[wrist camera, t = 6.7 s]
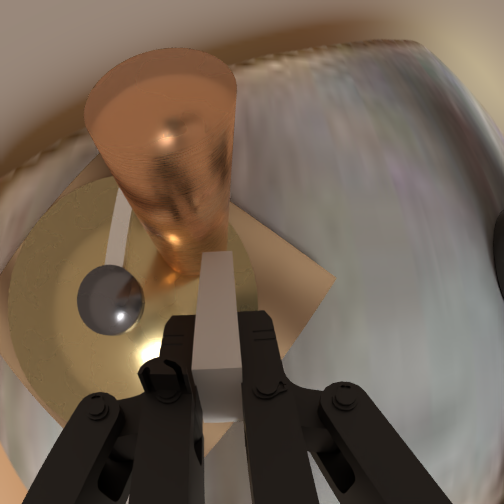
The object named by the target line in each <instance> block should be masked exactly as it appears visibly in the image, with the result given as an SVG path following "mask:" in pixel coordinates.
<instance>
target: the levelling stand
mask: <svg viewBox="0 0 504 504" xmlns="http://www.w3.org/2000/svg"><path fill="white" fill-rule="evenodd" d="M111 176H113V175H112V174H111V172H110V170H109V168H108V167H107V165H106V163H105V161H104V159H103V158H102V156H101V154H100V153H99V154H98V155H97V156H96V157H95V158H94V159H93V160H92V161H91V162H90V163H89V164H88V165H87V166H86V167H85V168H84V169H83V171H82V172H81V173H80V174H79V175H78V176H77V177H76V178H75V179H74V180H73V181H72V182H71V183H70V185H69V186H68V187H67V188H66V189H65V190H64V191H63V192H62V194H61V195H60V196H59V197H58V198H57V199H56V201H55V202H54V203H53V204H52V205H51V207H52V206H53V205H54V204H55V203H57V202H58V201H59V200H60V199H62V198H63V197H64V196H66V195H67V194H69V193H71V192H72V191H74V190H75V189H77V188H79V187H82V186H84V185H86V184H88V183H90V182H93V181H96V180H99V179H102V178H106V177H111ZM51 207H50V208H51ZM50 208H49V209H50ZM49 209H48V210H49ZM48 210H47V211H48ZM47 211H46V212H47ZM228 221H229V222H230V224H231V225H232V227H233V228H234V230H235V231H236V233H237V234H238V236H239V237H240V239H241V241H242V243H243V245H244V247H245V249H246V252H247V254H248V256H249V259H250V262H251V265H252V269H253V272H254V276H255V282H256V287H257V295H258V311H259V310H265V312H266V313H267V314H268V315H269V316H270V317H271V318H272V321H273V325H274V330H275V334H276V340H277V343H278V347H279V352H280V356H281V360H282V358H283V357H284V356H285V354H286V353H287V351H288V350H289V349H290V347H291V346H292V344H293V343H294V342H295V340H296V339H297V337H298V336H299V334H300V333H301V331H302V330H303V329H304V327H305V326H306V324H307V323H308V321H309V320H310V318H311V317H312V315H313V314H314V312H315V311H316V309H317V308H318V306H319V305H320V303H321V302H322V300H323V299H324V297H325V295H326V294H327V292H328V291H329V289H330V288H331V286H332V285H333V283H334V281H335V280H336V277H334V276H333V275H332V274H330V273H329V272H328V271H326V270H325V269H324V268H322V267H321V266H319V265H318V264H317V263H315V262H314V261H313V260H311V259H310V258H309V257H307V256H306V255H304V254H303V253H302V252H300V251H299V250H298V249H296V248H295V247H293V246H292V245H291V244H289V243H288V242H286V241H285V240H284V239H282V238H281V237H280V236H278V235H277V234H275V233H274V232H273V231H271V230H270V229H268V228H267V227H266V226H264V225H263V224H261V223H260V222H259V221H257V220H256V219H254V218H253V217H251V216H250V215H249V214H247V213H246V212H244V211H243V210H242V209H240V208H239V207H237V206H236V205H234V204H233V203H232V202H230V201H229V220H228ZM28 235H29V234H28ZM27 237H28V236H27ZM27 237H26V238H27ZM26 238H25V240H26ZM25 240H24V241H23V242H22V244H21V245H20V247H19V248H18V249H17V251H16V252H15V254H14V255H13V256H12V258H11V259H10V261H9V262H8V264H7V265H6V267H5V268H4V270H3V271H2V273H1V274H0V354H1V355H2V357H3V358H4V360H5V361H6V362H7V364H8V365H9V366H10V368H11V369H12V370H13V372H14V373H15V374H16V376H17V377H18V378H19V379H20V381H21V382H22V383H23V384H24V386H25V387H26V388H27V389H28V390H29V392H30V393H31V394H32V395H33V396H34V397H35V399H36V400H37V401H38V402H39V403H40V404H41V405H42V406H43V408H44V409H45V410H46V411H47V412H48V413H49V414H50V415H51V416H52V417H53V418H54V419H55V420H56V421H57V422H58V423H59V424H60V425H61V426H62V427H63V428H64V427H65V425H66V424H67V421H65V420H64V419H62V418H61V417H60V416H59V415H58V414H56V413H55V412H54V411H53V410H52V409H50V408H49V407H48V405H47V404H46V403H45V402H44V401H43V400H42V399H41V398H40V397H39V396H38V394H37V393H36V392H35V390H34V389H33V387H32V386H31V385H30V383H29V381H28V380H27V378H26V376H25V374H24V372H23V371H22V369H21V366H20V364H19V362H18V359H17V357H16V354H15V351H14V347H13V344H12V340H11V335H10V329H9V322H8V296H9V287H10V281H11V276H12V272H13V269H14V266H15V262H16V259H17V257H18V254H19V252H20V250H21V248H22V246H23V243H24V242H25ZM233 423H234V422H220V423H204V421H203V435H204V457H205V456H206V455H207V454H208V453H209V451H210V450H211V449H212V448H213V447H214V445H215V444H216V443H217V442H218V441H219V440H220V438H221V437H222V436H223V435H224V434H225V432H226V431H227V430H228V429H229V427H230V426H231V425H232V424H233Z"/></svg>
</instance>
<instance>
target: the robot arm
mask: <svg viewBox="0 0 504 504" xmlns="http://www.w3.org/2000/svg"><path fill="white" fill-rule="evenodd" d="M494 257H495V265H496V271H497V276H498V280H499V284H500V288H501V291H502V294H503V297H504V210H503V211H502V212H501V213H500V215H499V217H498V219H497V222H496V226H495V232H494ZM137 374H138V377H139V379H140V382H141V384H142V387H143V389H144V392H143V393H141V394H140V395H137V396H134V397H130V398H125V399H121V400H116V398H115V397H114V396H112V395H110V394H109V393H105V392H96V393H91V394H89V395H88V396H86V397H84V398H83V399H82V401H81V402H80V403H79V404H78V406H77V407H76V409H75V411H74V412H73V414H72V416H71V417H70V419H69V420H68V422H67V424H66V425H65V427H64V429H63V430H62V432H61V434H60V436H59V437H58V439H57V441H56V442H55V444H54V446H53V447H52V449H51V451H50V453H49V454H48V456H47V458H46V460H45V462H44V463H43V465H42V467H41V469H40V470H39V472H38V474H37V476H36V478H35V480H34V481H33V483H32V485H31V487H30V489H29V491H28V493H27V495H26V497H25V499H24V500H23V502H22V504H126V501H127V499H128V496H129V504H205V499H204V435H203V421H204V423H220V422H238V421H244V433H245V447H246V454H247V463H248V472H249V481H250V490H251V498H252V504H319V500H318V496H317V492H316V487H315V483H314V479H313V475H312V471H311V466H310V462H309V458H308V454H307V451H309V452H310V453H311V455H312V457H313V458H314V460H315V462H316V464H317V465H318V467H319V469H320V470H321V472H322V474H323V476H324V477H325V479H326V481H327V482H328V484H329V486H330V487H331V489H332V491H333V492H334V494H335V496H336V497H337V499H338V501H339V502H340V504H452V503H451V501H450V500H449V499H448V497H447V496H446V495H445V493H444V492H443V491H442V490H441V488H440V487H439V486H438V484H437V483H436V482H435V481H434V479H433V478H432V477H431V475H430V474H429V473H428V472H427V470H426V469H425V468H424V466H423V465H422V464H421V463H420V461H419V460H418V459H417V457H416V456H415V455H414V454H413V452H412V451H411V450H410V448H409V447H408V446H407V445H406V443H405V442H404V441H403V440H402V438H401V437H400V436H399V434H398V433H397V432H396V431H395V429H394V428H393V427H392V425H391V424H390V423H389V422H388V420H387V419H386V418H385V416H384V415H383V414H382V413H381V411H380V410H379V409H378V407H377V406H376V405H375V404H374V402H373V401H372V400H371V399H370V397H369V396H368V395H367V393H366V392H365V391H364V390H363V389H362V388H361V387H359V386H358V385H356V384H353V383H351V382H342V381H341V382H337V383H332V384H331V385H329V386H327V387H326V388H325V389H324V391H319V390H311V389H306V388H302V387H299V386H297V385H295V384H293V383H292V382H291V381H290V380H289V379H288V378H287V377H286V375H285V373H284V370H283V365H282V361H281V356H280V352H279V347H278V343H277V340H276V334H275V330H274V325H273V321H272V318H271V317H270V316H269V315H268V314H267V313H266V312H265V310H259V311H243V312H237V306H236V293H235V281H234V268H233V255H232V251H217V252H202V261H201V270H200V279H199V289H198V298H197V309H196V315H172V316H171V318H170V319H169V320H168V321H167V323H166V324H165V327H164V331H163V337H162V342H161V347H160V352H159V357H155V358H152V359H150V360H148V361H146V362H145V363H144V364H143V365H142V366H141V367H140V369H139V371H138V373H137ZM129 494H130V495H129Z"/></svg>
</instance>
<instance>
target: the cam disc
mask: <svg viewBox="0 0 504 504" xmlns="http://www.w3.org/2000/svg"><path fill="white" fill-rule="evenodd" d="M236 94H237V85H236V80H235V77H234V75H233V73H232V72H231V70H230V69H229V67H228V66H227V65H226V64H225V63H224V62H222V61H221V60H219V59H218V58H216V57H214V56H213V55H210V54H208V53H206V52H202V51H199V50H194V49H188V48H165V49H158V50H153V51H149V52H145V53H142V54H139V55H136V56H134V57H132V58H129V59H127V60H125V61H124V62H122V63H120V64H119V65H117V66H115V67H114V68H113V69H111V70H110V71H108V72H107V73H106V74H105V75H104V76H103V77H102V78H101V79H100V80H99V81H98V82H97V83H96V85H95V86H94V88H93V89H92V90H91V92H90V94H89V96H88V99H87V101H86V104H85V109H84V120H85V125H86V127H87V130H88V132H89V134H90V136H91V137H92V139H93V141H94V143H95V145H96V147H97V149H98V150H99V152H100V154H101V156H102V158H103V159H104V161H105V163H106V165H107V167H108V168H109V170H110V172H111V174H112V175H113V176H111V177H106V178H102V179H99V180H96V181H93V182H90V183H88V184H86V185H84V186H82V187H79V188H77V189H75V190H74V191H72V192H71V193H69V194H67V195H66V196H64V197H63V198H62V199H60V200H59V201H58V202H57V203H55V204H54V205H53V206H52V207H51V208H50V209H49V210H48V211H47V212H46V213H45V214H44V215H43V216H42V217H41V218H40V219H39V221H38V222H37V223H36V225H35V226H34V227H33V229H32V230H31V232H30V233H29V235H28V237H27V238H26V240H25V242H24V243H23V246H22V248H21V250H20V252H19V254H18V257H17V259H16V262H15V266H14V269H13V272H12V276H11V281H10V287H9V296H8V322H9V329H10V335H11V340H12V344H13V347H14V351H15V354H16V357H17V359H18V362H19V364H20V366H21V369H22V371H23V372H24V374H25V376H26V378H27V380H28V381H29V383H30V385H31V386H32V387H33V389H34V390H35V392H36V393H37V394H38V396H39V397H40V398H41V399H42V400H43V401H44V402H45V403H46V404H47V405H48V407H49V408H50V409H52V410H53V411H54V412H55V413H56V414H58V415H59V416H60V417H61V418H62V419H64V420H65V421H67V422H68V420H69V419H70V417H71V416H72V414H73V412H74V411H75V409H76V407H77V406H78V404H79V403H80V402H81V401H82V399H83V398H84V397H86V396H88V395H89V394H91V393H96V392H105V393H109V394H110V395H112V396H114V397H115V398H116V400H121V399H125V398H130V397H134V396H137V395H140V394H141V393H143V392H144V389H143V387H142V384H141V382H140V379H139V377H138V374H137V373H138V371H139V369H140V367H141V366H142V365H143V364H144V363H145V362H146V361H148V360H150V359H152V358H155V357H159V352H160V347H161V342H162V337H163V331H164V327H165V324H166V323H167V321H168V320H169V319H170V318H171V316H172V315H196V309H197V298H198V289H199V279H200V270H201V261H202V252H217V251H232V255H233V268H234V281H235V293H236V306H237V312H243V311H258V295H257V287H256V282H255V276H254V272H253V269H252V265H251V262H250V259H249V256H248V254H247V252H246V249H245V247H244V245H243V243H242V241H241V239H240V237H239V236H238V234H237V233H236V231H235V230H234V228H233V227H232V225H231V224H230V222H229V221H228V220H229V201H230V183H231V167H232V151H233V136H234V121H235V107H236Z"/></svg>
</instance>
